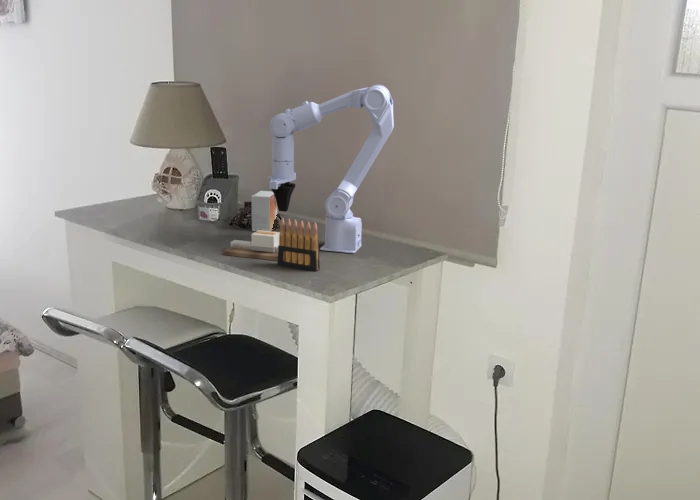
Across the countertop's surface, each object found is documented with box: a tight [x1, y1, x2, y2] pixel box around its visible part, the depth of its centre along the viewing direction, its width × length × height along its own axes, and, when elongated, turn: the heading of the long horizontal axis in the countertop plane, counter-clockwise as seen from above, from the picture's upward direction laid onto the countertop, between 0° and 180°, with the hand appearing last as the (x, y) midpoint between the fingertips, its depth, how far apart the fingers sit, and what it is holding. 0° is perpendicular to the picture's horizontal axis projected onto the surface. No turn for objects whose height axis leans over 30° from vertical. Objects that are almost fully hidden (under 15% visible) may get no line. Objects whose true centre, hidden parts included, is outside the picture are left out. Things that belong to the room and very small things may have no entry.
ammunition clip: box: [277, 217, 321, 272], centre depth 168 cm, size 11×2×12 cm, turn 66°
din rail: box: [230, 239, 279, 253], centre depth 179 cm, size 18×2×2 cm, turn 75°
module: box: [250, 230, 280, 253], centre depth 178 cm, size 6×4×4 cm
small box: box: [250, 190, 279, 232], centre depth 202 cm, size 8×6×10 cm
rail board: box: [222, 246, 278, 262], centre depth 179 cm, size 19×9×1 cm, turn 75°
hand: (283, 210), depth 185 cm, fingers closed
